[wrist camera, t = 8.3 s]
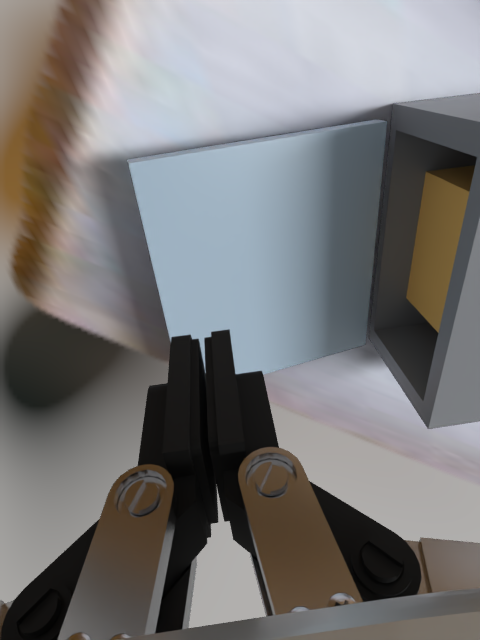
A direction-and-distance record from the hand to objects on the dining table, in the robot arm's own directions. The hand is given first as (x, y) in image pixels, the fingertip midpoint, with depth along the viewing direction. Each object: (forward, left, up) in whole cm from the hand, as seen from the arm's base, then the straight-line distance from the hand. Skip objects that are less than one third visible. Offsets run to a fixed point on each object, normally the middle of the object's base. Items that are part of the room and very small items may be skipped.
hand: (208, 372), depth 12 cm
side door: (+1, +9, -10) cm, 13 cm away
